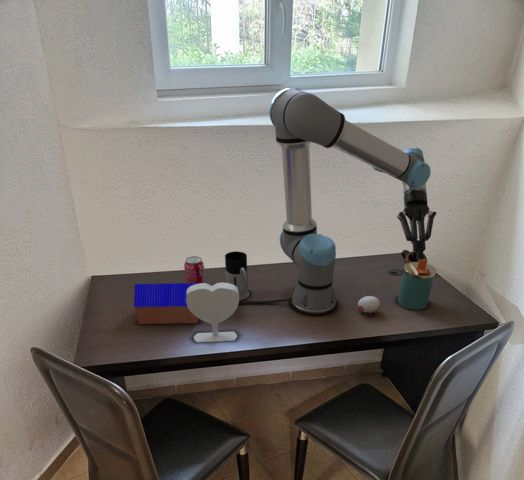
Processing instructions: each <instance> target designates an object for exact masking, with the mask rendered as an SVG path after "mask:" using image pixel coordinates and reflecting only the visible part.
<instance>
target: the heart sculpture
mask: <svg viewBox="0 0 524 480" xmlns="http://www.w3.org/2000/svg"><path fill="white" fill-rule="evenodd" d="M239 301H240V300H239V292H238V287H236V286H235V285H233V284H229V283H226V282H217V283H215V284H213V285H211V284H209V283H206V282H205V283H200V284H195V285H193V286H190V287H189V288H188V289H187V294H186V303H187V306H188V309H189V310H190V311H191V312H192V314H193V315H194V316H196V317H198V318H199V319H198V320H201V321H203V322H205V323H207V324H210V325H211V332H197V333H196V334H194V336H193V339H194V341H195V343H208V342H209V343H210V342H212V343H213V342H233V341H234V342H235V341H236V339H237V338H238V335H237V333H236V332H235V331H219V325H218V324H220V323H222V322H224V321H226V320H227V319H229V318H230V317H231V316H232V315H234V313H235V312H236V310H237V309H238V307H239V304H238V303H239Z"/></svg>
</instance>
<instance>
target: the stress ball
mask: <svg viewBox="0 0 524 480" xmlns="http://www.w3.org/2000/svg"><path fill="white" fill-rule="evenodd" d="M380 306H381V302H380V299H379V298H377V297H376V296H372V295H367V296H363V297H361V298H360V299H358V302H357V308H358V310H359V311H360V312H362V313H365V314H369V317H371V316H373V314H372V313H374V312H376V311H377V310H378V309H379V308H380Z"/></svg>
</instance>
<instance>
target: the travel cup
mask: <svg viewBox="0 0 524 480" xmlns="http://www.w3.org/2000/svg"><path fill="white" fill-rule="evenodd" d="M417 265H418V262H410V261H409V263H407V264H406V263H404V265H403V268H402V271H403V273H402V276H401V277H402V278H401V283H400V288H399V293H398V298H397V303H398V304H399V306H401V307H403V308H405V309H407V310H412V311H419V310H424V309H426V308H427V307H428V304H429V300H430V294H431V292H432V288H433V283H434V280H435V276H436V275H437V269H436V267H434V265H431V264H429V263H427V265H426V269H427V271H428V272H429V274H420V273H419V272H418V270H417Z"/></svg>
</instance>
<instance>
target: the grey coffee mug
mask: <svg viewBox="0 0 524 480" xmlns="http://www.w3.org/2000/svg"><path fill="white" fill-rule="evenodd" d="M224 265H225V268H224V273H225V283H229V284H233V285H235V286H236V287H238V292H239V301H244V300H246V299H248V298H249V297H250V292H249V273H248V272H249V271H248V255H247V253H245V252H244V251H237V250H236V251H230V252H227V253H226V254H225V255H224Z"/></svg>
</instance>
